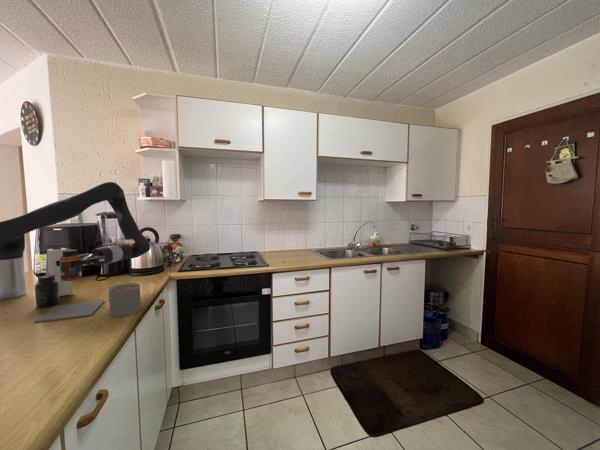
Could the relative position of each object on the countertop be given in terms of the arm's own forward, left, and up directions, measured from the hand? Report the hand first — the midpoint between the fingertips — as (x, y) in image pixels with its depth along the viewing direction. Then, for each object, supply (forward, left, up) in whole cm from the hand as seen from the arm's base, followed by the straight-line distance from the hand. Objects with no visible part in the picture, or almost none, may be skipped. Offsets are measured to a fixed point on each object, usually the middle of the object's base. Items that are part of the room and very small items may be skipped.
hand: (63, 264), depth 91 cm
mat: (+1, +2, -19) cm, 19 cm away
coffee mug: (+20, -3, -20) cm, 28 cm away
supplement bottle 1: (-11, +13, -20) cm, 26 cm away
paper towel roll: (-12, +25, -20) cm, 34 cm away
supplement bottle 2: (+1, +2, -7) cm, 7 cm away
